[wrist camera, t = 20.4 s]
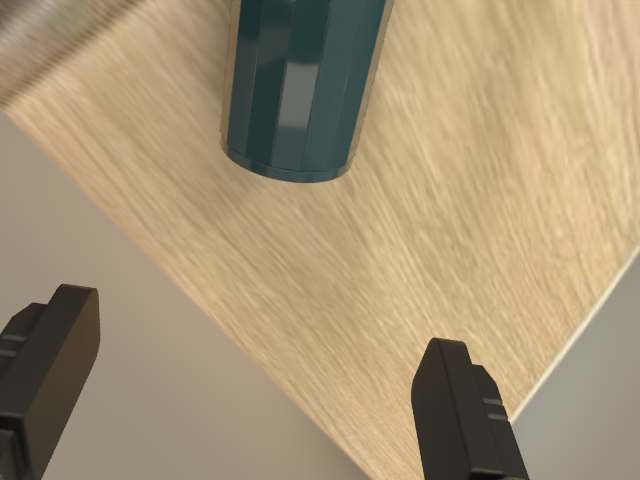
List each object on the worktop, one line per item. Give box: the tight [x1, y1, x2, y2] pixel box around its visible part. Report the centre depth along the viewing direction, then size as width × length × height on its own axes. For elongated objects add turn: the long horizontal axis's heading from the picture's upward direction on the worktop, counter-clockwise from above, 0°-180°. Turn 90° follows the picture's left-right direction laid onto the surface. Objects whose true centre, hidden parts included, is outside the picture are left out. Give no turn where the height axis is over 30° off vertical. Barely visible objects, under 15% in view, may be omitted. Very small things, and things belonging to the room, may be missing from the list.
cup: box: [220, 0, 394, 183], centre depth 23 cm, size 6×6×10 cm
